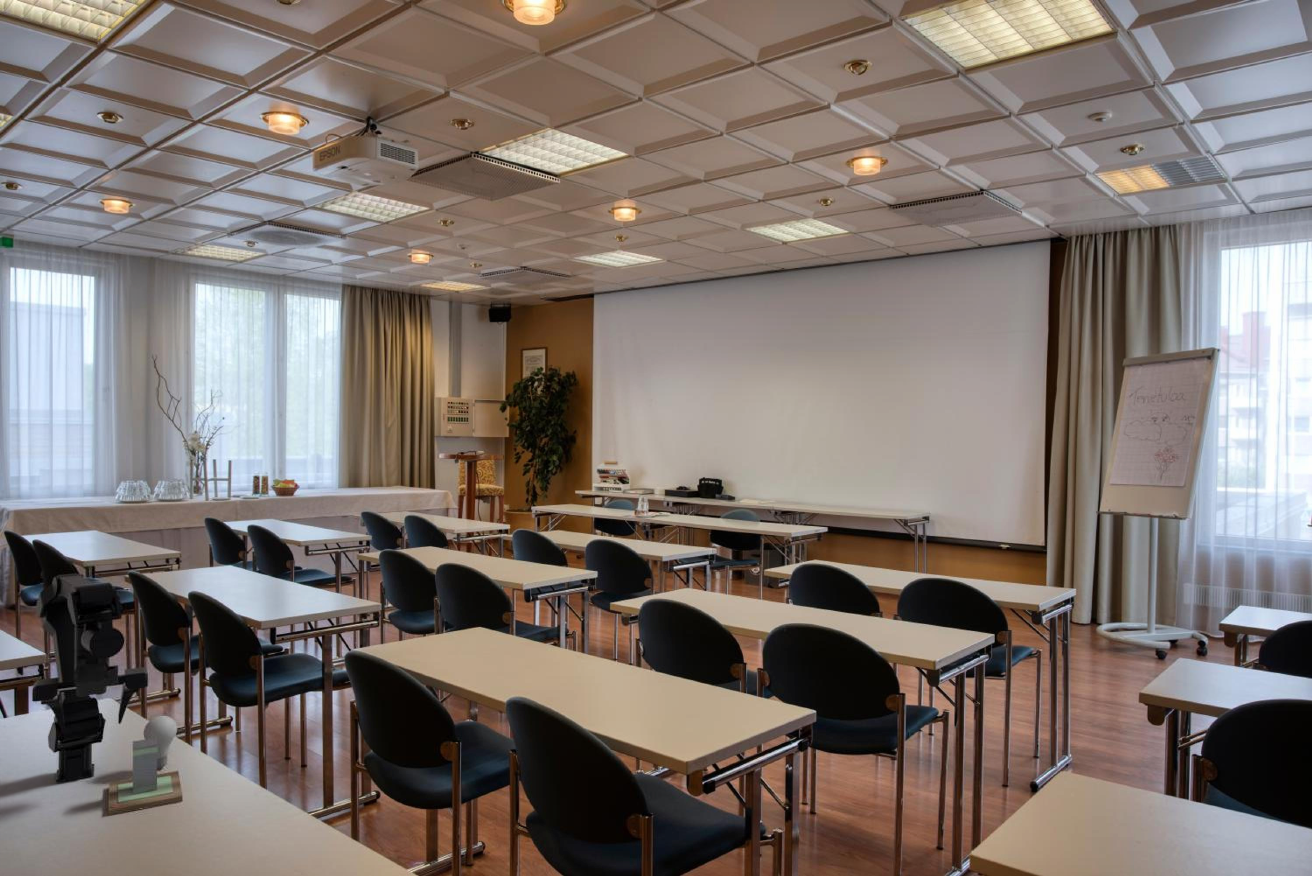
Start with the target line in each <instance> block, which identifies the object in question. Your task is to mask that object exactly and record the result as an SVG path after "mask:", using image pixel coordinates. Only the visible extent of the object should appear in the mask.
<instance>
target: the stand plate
mask: <svg viewBox="0 0 1312 876" xmlns="http://www.w3.org/2000/svg"><path fill="white" fill-rule="evenodd" d="M108 784H109V785H108V787H109V788H108V816H113V815H118V814H119V815H120V814H124V813H125V814H126V813H128V811H130V812H132V811H131V810H135V811H138V810H137V809H140V808H145V807H146V808H145V809H148V808H147V807H150V808H154V807H153V806H155V807H159V805H161V806H165V804H166V805H169V803H171V804H174V803H175V804H176V803H180V802H183V791H182V786H181V785H182V783H181V778H180V774H179V770H175V771H169V772H163V773H157V790H155V791H149V792H144V793H139V794H133V778H130V779H123V780H118V781H112V782H109V783H108ZM140 810H141V809H140Z"/></svg>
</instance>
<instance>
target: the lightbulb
mask: <svg viewBox="0 0 1312 876" xmlns="http://www.w3.org/2000/svg"><path fill="white" fill-rule="evenodd" d="M177 733H178V726H177V723H176V721H175V720H174V719H173V718H172V717H170V716H167V715H159V716H155V717H154V718H152V719H150V720H149V721H148V722H147V723H146V725H145V726H144V729H143V738H144V740H145V739H152V738H157V746H158V752H157V770H160V769H163V768H164V767H166V766H167V765H168V757H169V754H170V748H171V744H172V742H173V741H174V739H175V737H176V734H177Z"/></svg>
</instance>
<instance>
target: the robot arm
mask: <svg viewBox="0 0 1312 876" xmlns="http://www.w3.org/2000/svg"><path fill="white" fill-rule="evenodd" d="M35 608H36V616H37V618H38V619H40V623H41V628H42V629H43V630H44V631H45V632H46V633H48V635H50V636H51V637H52V642H53V650H54V658H55V664H56V665H55V666H56V673H57V677H51V678H42V679H37V680H36V681H35V682H34V683H33V686H32V692H31V698H32V699H31V700H32V702H40V705H43V706H44V705H47V706H48V707H49V708H50V709H51V711H52V712H53V714H54V717H53V722H52V724H51V726H50V729H49V732H48V735H47V741H48V743H47V745H48V748H49V749H50V750H51V752H53V754H55V753H58V767H57V768H58V769H56V773H55V778H54V779H55V780H54V783H61V782H68V781H73V780H79V779H85V778H90V777H93V776H94V775H95V763H93V758H92V757H93V745H94V744H97V743H98V744H99V743H102V741H103V740H104V732H105V725H106V721H107V720H106V718H104V715H103V713H102V712H100V708H99V701H98V700H97V698H95V696H94V697H91V696H93V695H97V696H98V695H103V694H105V693H106V692H107V687H112V686H120V685H122V689H121V694H120V695H121V696H120V702H119V709H118V715H117V717H118V719H117V720H118V723H117V724H118V725H120V724H122V721H123V718H124V716H125V713H126V709H127V707H128V705H129V702H130V701H131V699H132V697H133V696H134V694H135V693H140V692H141V689H142V688H147V687H149V673H148V669H147V668H146V667H145V666H144V667H143V666H142V667H135V668H127V669H124V674H119V665H110V661H111V660H110V658H112V657H115V656H116V655H118V654H119V652H120V651H121V650H122V649H123V648H124V645H125V637H124V634H123V633H122V631H120V630H119V629H117V628H116V627H114V625H113V621H115V620H121V619H122V614H123V612H124V609H123V604H122V601H121V597H120V594H119V592H117V588H116V587H113V584H112V583H111V582H98V583H94V582H92V581H91V580H89V579H87V578H85V576H84V574H81V573H78V572H77V573H69V574H58V575H57V576H54V577H53V579H52V583H51V584H49V585H48V586H47V587H45V588H44V589H43V590H41V591H40V592H39V595H38V599H37V601H36V607H35Z"/></svg>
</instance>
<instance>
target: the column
mask: <svg viewBox="0 0 1312 876" xmlns="http://www.w3.org/2000/svg"><path fill="white" fill-rule="evenodd" d="M157 752H158V746H157V738H152V739H145V738H144V739H140V740H134V741H132V779H133V794H139V793H144V792H149V791H155V790H157V774H158V768H157Z"/></svg>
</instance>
